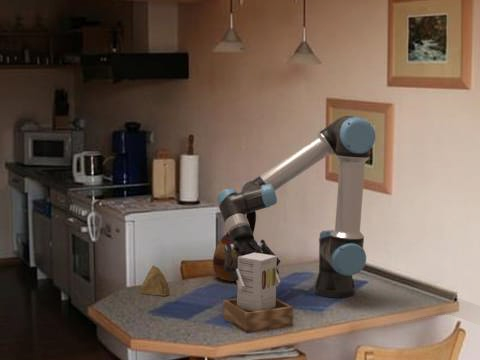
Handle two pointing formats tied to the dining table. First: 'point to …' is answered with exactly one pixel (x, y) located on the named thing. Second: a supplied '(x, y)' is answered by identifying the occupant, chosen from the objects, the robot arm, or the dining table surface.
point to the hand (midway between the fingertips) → (260, 286)
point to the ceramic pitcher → (221, 253)
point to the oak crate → (258, 316)
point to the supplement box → (257, 282)
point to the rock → (155, 283)
